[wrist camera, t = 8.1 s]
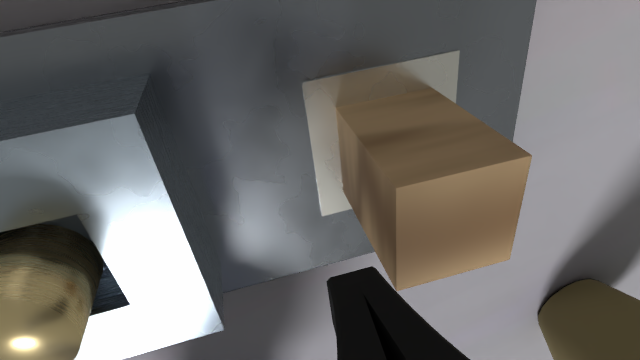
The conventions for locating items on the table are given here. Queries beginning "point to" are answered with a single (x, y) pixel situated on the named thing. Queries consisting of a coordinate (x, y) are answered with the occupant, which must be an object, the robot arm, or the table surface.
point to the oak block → (430, 185)
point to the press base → (223, 138)
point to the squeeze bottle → (591, 323)
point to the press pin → (46, 291)
